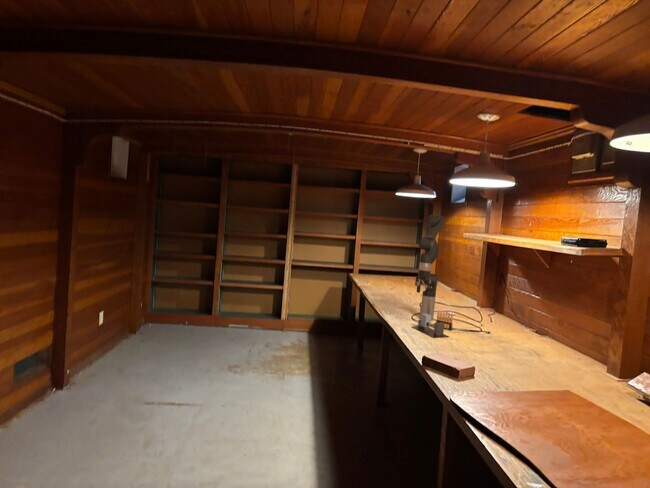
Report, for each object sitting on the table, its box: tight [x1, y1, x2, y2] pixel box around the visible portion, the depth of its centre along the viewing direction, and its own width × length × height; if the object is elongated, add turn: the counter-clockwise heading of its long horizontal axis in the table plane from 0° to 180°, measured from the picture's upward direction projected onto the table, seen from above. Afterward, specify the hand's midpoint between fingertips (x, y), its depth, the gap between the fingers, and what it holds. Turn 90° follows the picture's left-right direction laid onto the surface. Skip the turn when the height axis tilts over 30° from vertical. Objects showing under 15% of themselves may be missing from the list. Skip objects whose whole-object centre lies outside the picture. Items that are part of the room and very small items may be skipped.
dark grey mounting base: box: [411, 319, 450, 339], centre depth 255 cm, size 23×12×8 cm, turn 23°
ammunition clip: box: [435, 309, 454, 332], centre depth 266 cm, size 11×2×12 cm, turn 58°
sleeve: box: [420, 314, 432, 328], centre depth 259 cm, size 5×4×8 cm
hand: (422, 293), depth 265 cm, fingers open, 8 cm apart
